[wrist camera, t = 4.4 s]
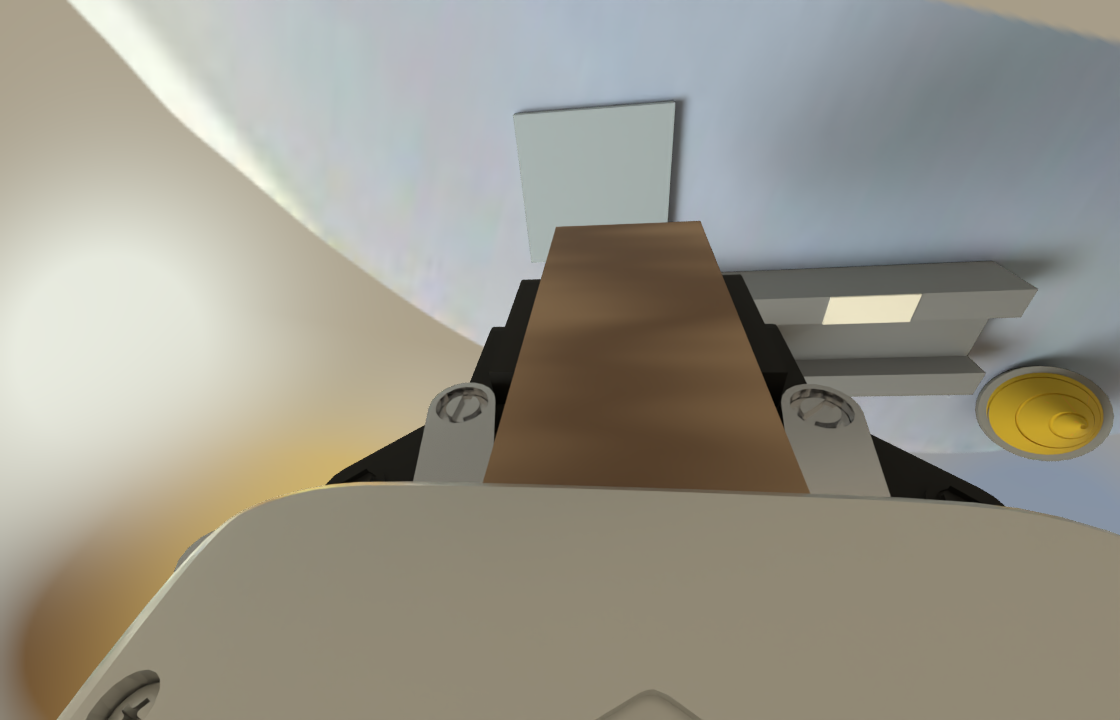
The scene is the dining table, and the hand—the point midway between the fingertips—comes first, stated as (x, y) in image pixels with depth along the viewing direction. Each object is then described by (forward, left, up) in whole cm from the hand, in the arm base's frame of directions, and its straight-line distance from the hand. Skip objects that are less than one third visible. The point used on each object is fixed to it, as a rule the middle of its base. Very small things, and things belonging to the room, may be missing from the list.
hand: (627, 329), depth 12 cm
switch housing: (-10, +8, -13) cm, 18 cm away
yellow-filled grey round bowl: (-23, +13, -13) cm, 30 cm away
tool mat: (+1, 0, -12) cm, 13 cm away
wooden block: (0, 0, -2) cm, 2 cm away
